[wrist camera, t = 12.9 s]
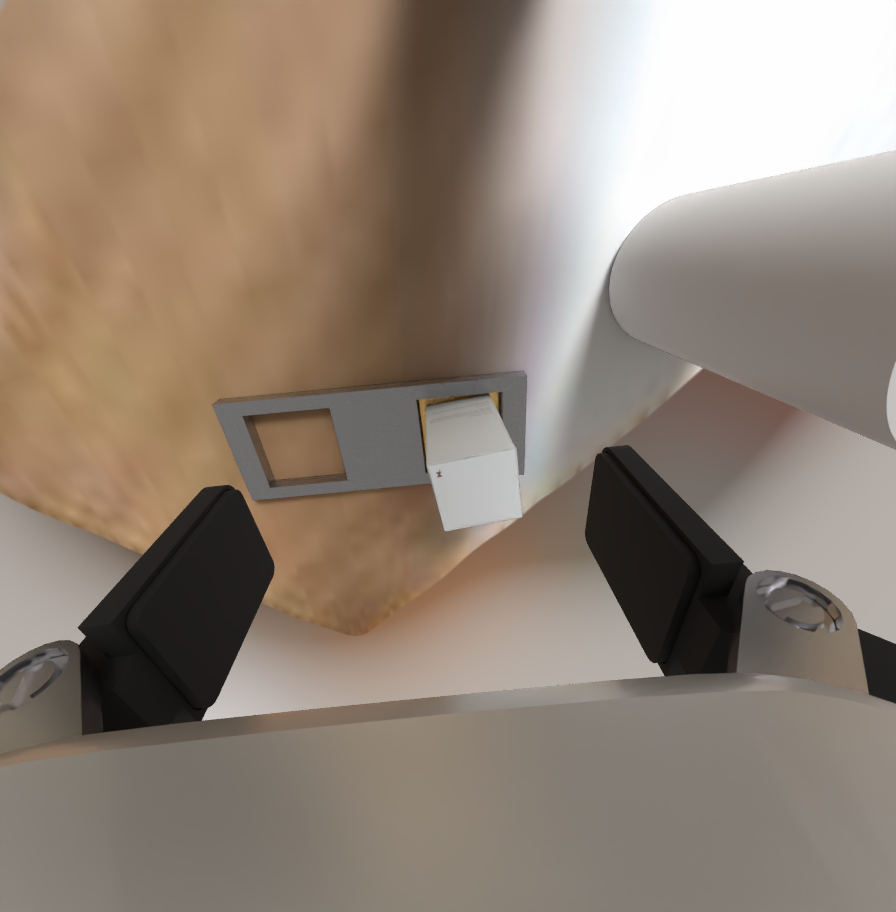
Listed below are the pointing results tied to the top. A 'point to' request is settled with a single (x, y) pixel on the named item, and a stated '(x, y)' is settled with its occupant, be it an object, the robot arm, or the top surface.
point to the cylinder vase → (777, 288)
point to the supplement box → (471, 463)
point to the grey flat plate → (367, 430)
